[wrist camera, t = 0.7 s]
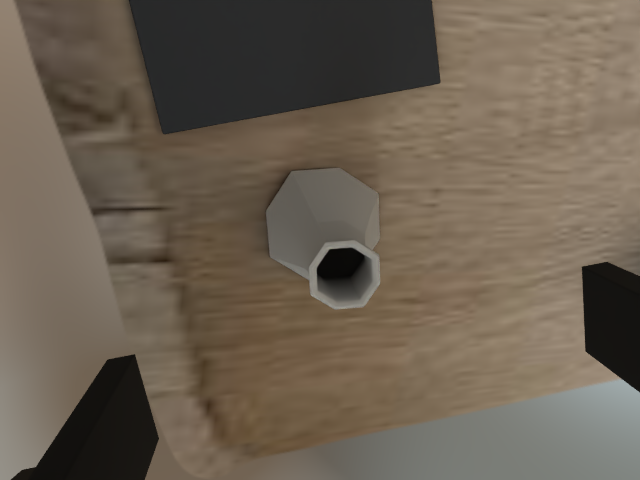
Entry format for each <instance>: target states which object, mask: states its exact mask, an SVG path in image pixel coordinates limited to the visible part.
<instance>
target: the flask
mask: <svg viewBox="0 0 640 480" xmlns="http://www.w3.org/2000/svg"><path fill="white" fill-rule="evenodd" d="M266 219H267V230H268V241H269V252H270V257H271V258H273V259H274V260H276V261H278V262H279V263H281V264H283V265H284V266H286V267H288V268H289V269H291V270H293V271H294V272H296V273H298V274H299V275H301V276H303V277H304V278H306V279H308V280H309V285H310V295H311V296H313V297H315V298H316V299H318V300H320V301H321V302H323V303H325V304H327V305H328V306H330V307H332V308H333V309H346V308H357V307H364V306H365V304H366V303H367V302H368V300H369V299H370V297H371V296H372V294H373V293H374V292H375V290H376V289H377V287H378V286H379V284H380V265H379V254H378V253H376V252H374V251H373V248H374V247H375V246H376V244H377V243H378V241H379V240H380V223H379V193H377V192H376V191H374V190H373V189H371V188H370V187H368V186H367V185H365V184H364V183H362V182H361V181H359V180H358V179H356V178H355V177H353V176H352V175H350V174H349V173H347V172H345V171H344V170H342V169H341V168H327V169H313V170H299V171H291V173H290V174H289V176H288V177H287V179H286V180H285V182H284V184H283V185H282V187H281V188H280V190H279V191H278V193H277V195H276V196H275V198H274V199H273V201H272V202H271V204H270V205H269V207H268V209H267V210H266Z"/></svg>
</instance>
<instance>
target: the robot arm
mask: <svg viewBox="0 0 640 480" xmlns="http://www.w3.org/2000/svg"><path fill="white" fill-rule="evenodd" d="M582 278H583V302H584V326H585V349H586V352H587V353H588V354H590V355H591V356H592V357H594V358H595V359H596V360H598V361H599V362H600V363H602V364H603V365H604V366H606V367H607V368H608V369H610V370H611V371H612V372H613V373H615V374H616V375H617V376H619V377H620V378H621V379H623V380H624V381H625V382H627V383H628V384H629V385H631V386H632V387H634V388H635V389H636V390H637V391H639V392H640V276H638V275H636V274H633V273H631V272H629V271H626V270H624V269H622V268H620V267H617V266H615V265H613V264H611V263H608V262H604V263H599V264H594V265H589V266H583V267H582ZM158 440H159V437H158V434H157V430H156V427H155V423H154V420H153V416H152V413H151V409H150V406H149V402H148V399H147V395H146V392H145V388H144V385H143V381H142V378H141V374H140V371H139V367H138V364H137V360H136V357H135V354H134V355H129V356H124V357H119V358H114V359H109V360H107V361H106V363H105V364H104V366H103V367H102V369H101V370H100V372H99V373H98V375H97V376H96V378H95V379H94V381H93V383H92V384H91V385H90V387H89V388H88V390H87V391H86V393H85V394H84V396H83V397H82V399H81V400H80V402H79V403H78V405H77V406H76V408H75V409H74V411H73V412H72V414H71V415H70V417H69V418H68V420H67V421H66V423H65V424H64V426H63V427H62V429H61V430H60V432H59V433H58V435H57V436H56V438H55V439H54V441H53V442H52V444H51V445H50V447H49V448H48V450H47V451H46V453H45V454H44V456H43V457H42V459H41V460H40V462H39V463H38V465H37V466H36V467H35V468H29V469H24V470H22V471H20V472H19V473H18V474H17V475H16V476H15V477H13V478H12V479H11V480H145V477H146V474H147V471H148V468H149V466H150V463H151V460H152V457H153V454H154V451H155V448H156V445H157V442H158Z"/></svg>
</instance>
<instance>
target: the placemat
mask: <svg viewBox="0 0 640 480" xmlns="http://www.w3.org/2000/svg"><path fill="white" fill-rule="evenodd" d="M129 2H130V6H131V10H132V14H133V18H134V22H135V26H136V30H137V34H138V38H139V42H140V46H141V50H142V54H143V58H144V61H145V65H146V69H147V73H148V77H149V81H150V85H151V89H152V93H153V97H154V101H155V105H156V109H157V113H158V117H159V121H160V125H161V129H162V132H163V134H168V133H174V132H179V131H185V130H190V129H196V128H201V127H206V126H212V125H217V124H223V123H228V122H234V121H239V120H244V119H250V118H255V117H261V116H266V115H272V114H277V113H282V112H288V111H293V110H299V109H304V108H310V107H315V106H320V105H326V104H331V103H337V102H342V101H348V100H353V99H358V98H364V97H369V96H375V95H380V94H386V93H391V92H396V91H402V90H407V89H413V88H418V87H424V86H429V85H434V84H439V83H440V74H439V64H438V55H437V46H436V37H435V28H434V19H433V10H432V1H431V0H129Z"/></svg>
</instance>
